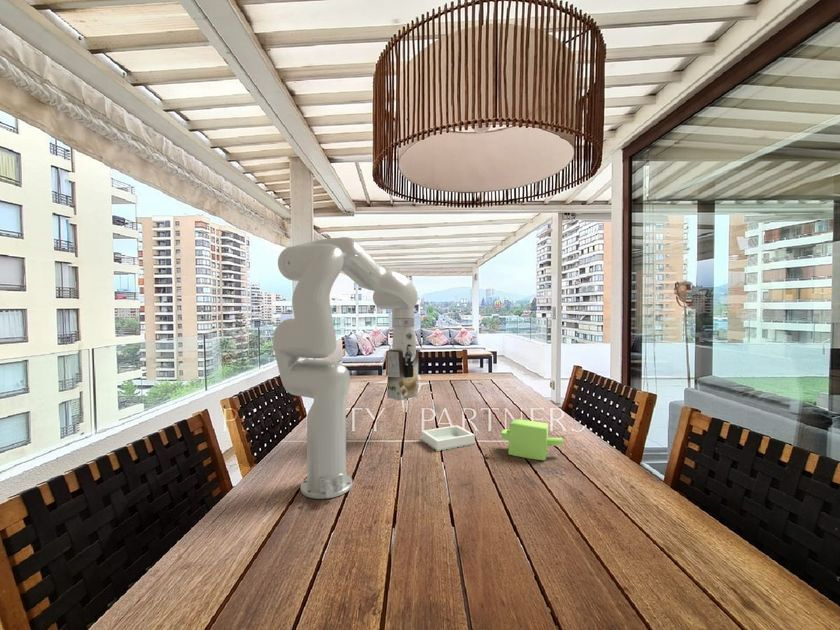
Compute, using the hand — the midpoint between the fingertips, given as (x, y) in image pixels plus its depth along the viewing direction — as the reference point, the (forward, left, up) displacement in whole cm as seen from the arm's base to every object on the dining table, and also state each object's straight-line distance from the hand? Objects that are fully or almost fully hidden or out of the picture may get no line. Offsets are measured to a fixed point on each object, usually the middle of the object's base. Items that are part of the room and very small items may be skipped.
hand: (402, 374), depth 130 cm
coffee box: (0, 0, -8) cm, 8 cm away
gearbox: (-29, -31, -22) cm, 48 cm away
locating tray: (-10, -12, -22) cm, 27 cm away
